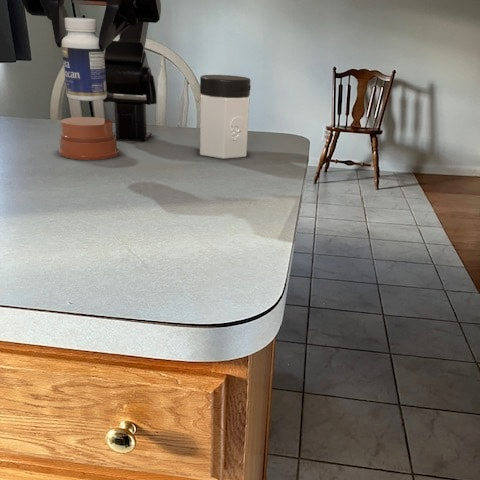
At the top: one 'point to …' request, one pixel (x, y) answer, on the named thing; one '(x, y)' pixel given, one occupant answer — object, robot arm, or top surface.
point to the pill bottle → (83, 61)
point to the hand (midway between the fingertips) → (79, 46)
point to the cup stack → (87, 139)
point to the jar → (224, 116)
